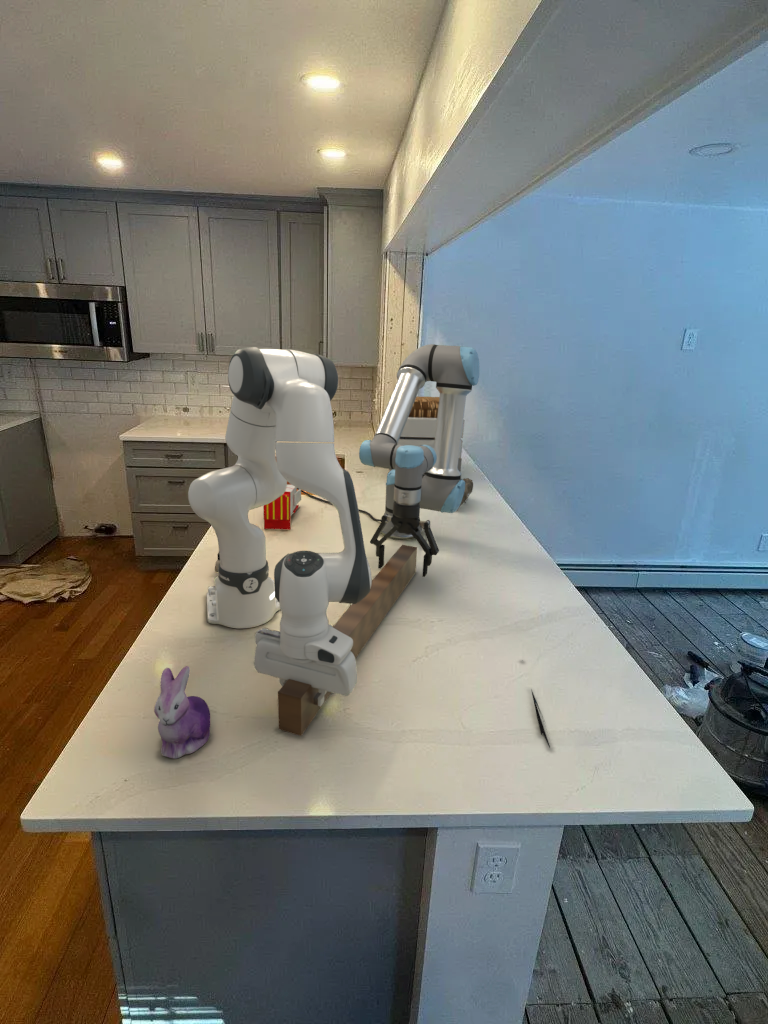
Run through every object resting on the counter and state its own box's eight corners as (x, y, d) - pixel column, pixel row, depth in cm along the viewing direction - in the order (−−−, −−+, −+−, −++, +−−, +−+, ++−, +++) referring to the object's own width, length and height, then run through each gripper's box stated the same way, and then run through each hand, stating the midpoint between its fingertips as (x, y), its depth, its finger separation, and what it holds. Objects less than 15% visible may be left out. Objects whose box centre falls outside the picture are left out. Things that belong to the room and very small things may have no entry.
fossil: (437, 484, 244) (466, 465, 239) (450, 500, 247) (479, 482, 242) (436, 505, 224) (468, 485, 219) (450, 523, 227) (482, 504, 222)
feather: (522, 665, 130) (528, 659, 129) (549, 752, 103) (556, 745, 103) (516, 662, 130) (522, 655, 129) (542, 747, 103) (549, 740, 103)
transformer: (382, 463, 289) (386, 382, 275) (445, 464, 293) (451, 384, 279) (390, 482, 257) (394, 392, 243) (460, 483, 261) (468, 394, 247)
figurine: (162, 769, 95) (153, 695, 90) (154, 730, 104) (146, 661, 99) (219, 752, 99) (214, 680, 94) (207, 716, 108) (202, 648, 103)
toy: (303, 479, 223) (293, 493, 194) (302, 513, 226) (293, 531, 196) (272, 479, 223) (257, 492, 193) (272, 512, 225) (258, 530, 196)
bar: (400, 570, 172) (402, 544, 170) (415, 572, 171) (417, 547, 168) (278, 729, 106) (277, 691, 103) (301, 736, 104) (300, 698, 101)
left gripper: (246, 634, 105) (248, 696, 110) (348, 659, 99) (346, 724, 104) (263, 618, 111) (265, 677, 115) (361, 641, 104) (359, 703, 109)
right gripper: (360, 498, 159) (358, 568, 166) (447, 512, 151) (440, 584, 158) (370, 491, 165) (367, 558, 172) (453, 504, 158) (447, 573, 165)
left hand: (304, 699), depth 109 cm, fingers closed on bar, 5 cm apart
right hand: (402, 571), depth 165 cm, fingers open, 13 cm apart
